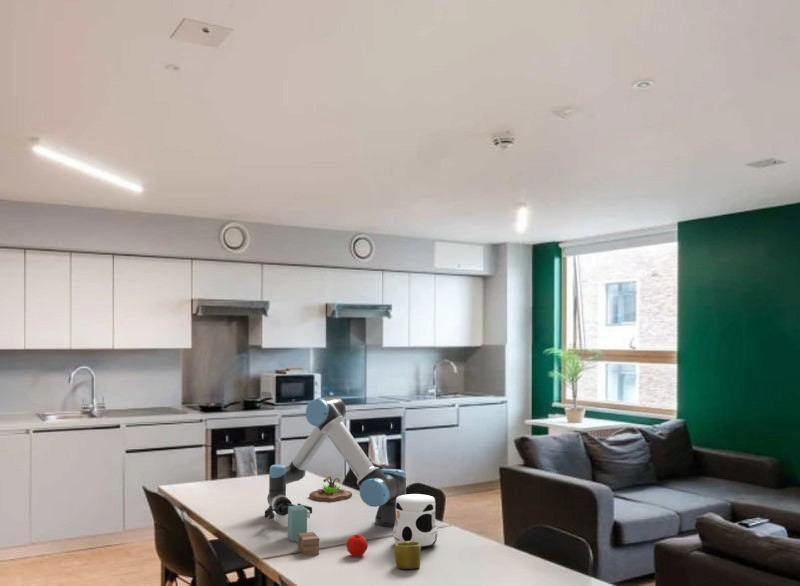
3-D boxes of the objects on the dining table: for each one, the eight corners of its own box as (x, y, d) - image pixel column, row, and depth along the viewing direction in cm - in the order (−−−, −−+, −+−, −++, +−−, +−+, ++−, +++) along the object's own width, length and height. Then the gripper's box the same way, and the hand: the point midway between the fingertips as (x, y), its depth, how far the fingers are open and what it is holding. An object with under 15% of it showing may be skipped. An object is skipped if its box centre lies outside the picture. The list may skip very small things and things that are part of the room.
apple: (347, 552, 265) (347, 532, 265) (368, 552, 265) (368, 532, 265) (345, 558, 257) (345, 538, 257) (366, 559, 257) (366, 538, 257)
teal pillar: (306, 540, 280) (307, 509, 281) (291, 541, 278) (292, 510, 278) (302, 534, 287) (302, 505, 288) (287, 536, 285) (288, 506, 286)
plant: (302, 498, 354) (302, 476, 355) (327, 492, 371) (327, 470, 371) (333, 504, 343) (333, 481, 344) (357, 497, 360) (357, 474, 360)
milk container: (386, 541, 280) (387, 495, 281) (426, 537, 286) (426, 492, 287) (403, 553, 264) (403, 504, 265) (444, 548, 270) (444, 501, 271)
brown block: (319, 554, 262) (319, 538, 262) (303, 556, 260) (303, 539, 260) (313, 547, 270) (313, 531, 271) (297, 549, 268) (297, 533, 268)
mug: (422, 567, 242) (415, 537, 245) (394, 575, 243) (387, 545, 246) (430, 564, 253) (423, 535, 256) (403, 571, 255) (396, 542, 258)
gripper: (309, 511, 314) (322, 523, 294) (253, 516, 304) (262, 528, 285) (309, 494, 314) (322, 504, 294) (253, 498, 305) (262, 509, 285)
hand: (292, 516), depth 290 cm, fingers open, 13 cm apart
